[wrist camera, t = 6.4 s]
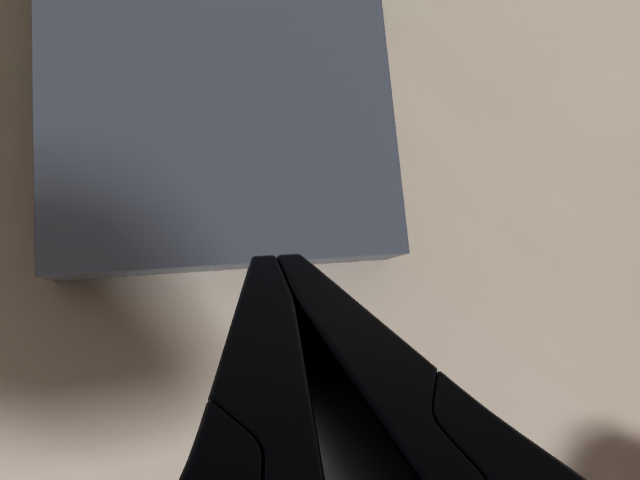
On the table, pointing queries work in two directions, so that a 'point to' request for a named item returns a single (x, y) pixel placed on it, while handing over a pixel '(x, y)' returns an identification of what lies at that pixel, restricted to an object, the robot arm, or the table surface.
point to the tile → (211, 135)
